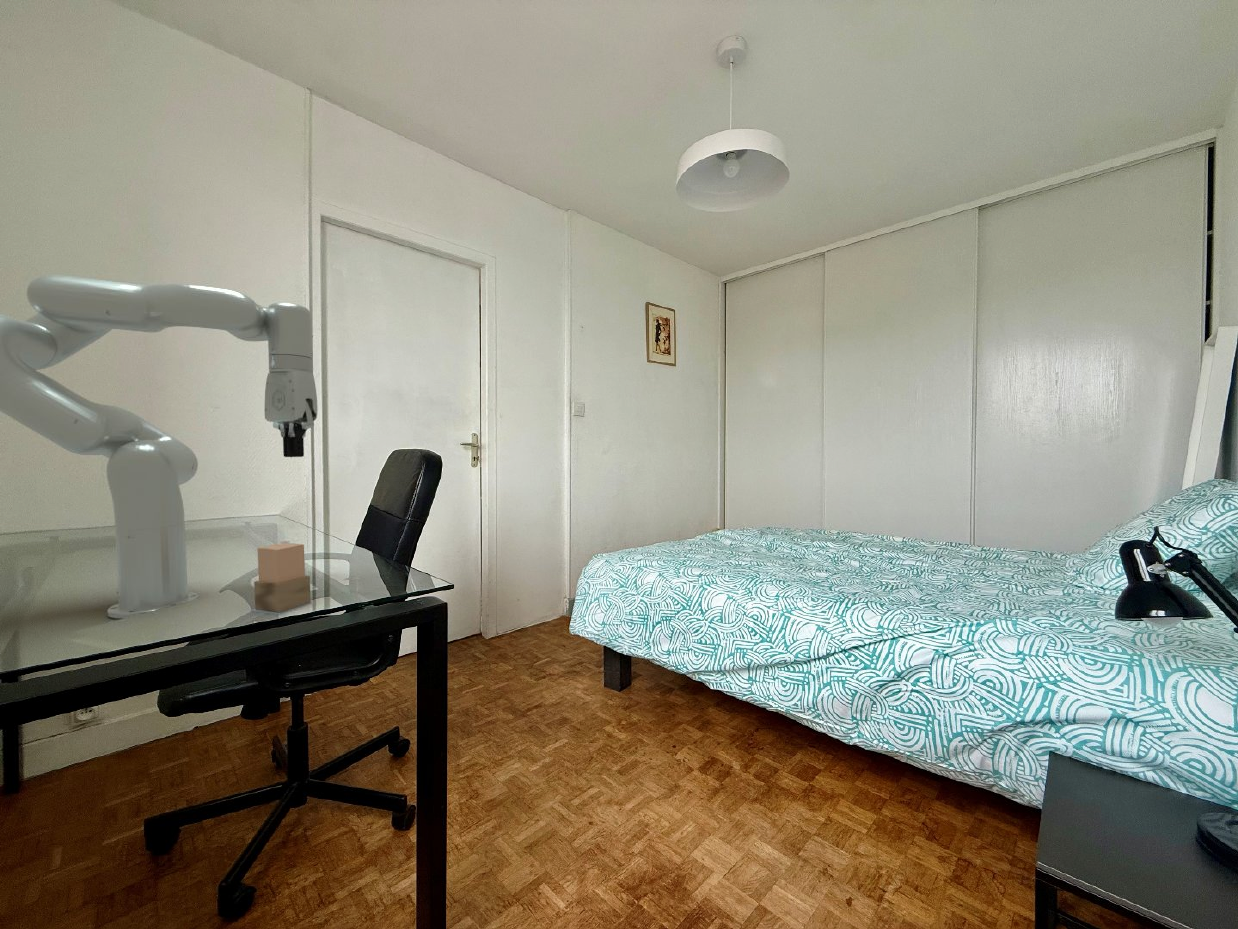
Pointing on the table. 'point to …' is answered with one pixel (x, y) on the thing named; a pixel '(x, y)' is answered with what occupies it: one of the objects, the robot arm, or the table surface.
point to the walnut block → (282, 595)
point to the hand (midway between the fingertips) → (293, 456)
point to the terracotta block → (281, 562)
